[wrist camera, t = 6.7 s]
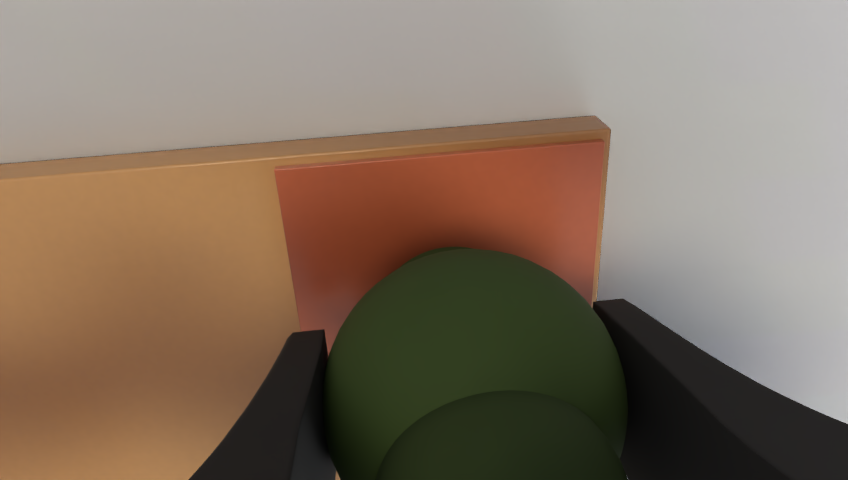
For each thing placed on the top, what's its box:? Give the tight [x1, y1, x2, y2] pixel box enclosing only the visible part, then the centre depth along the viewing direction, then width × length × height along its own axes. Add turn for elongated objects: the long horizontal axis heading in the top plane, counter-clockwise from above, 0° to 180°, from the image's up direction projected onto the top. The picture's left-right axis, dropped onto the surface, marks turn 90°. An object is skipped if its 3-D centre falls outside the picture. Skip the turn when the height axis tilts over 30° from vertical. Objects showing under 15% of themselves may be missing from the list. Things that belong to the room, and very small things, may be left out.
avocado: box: [323, 247, 628, 480], centre depth 11 cm, size 5×5×7 cm
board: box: [0, 116, 611, 480], centre depth 16 cm, size 12×16×1 cm
